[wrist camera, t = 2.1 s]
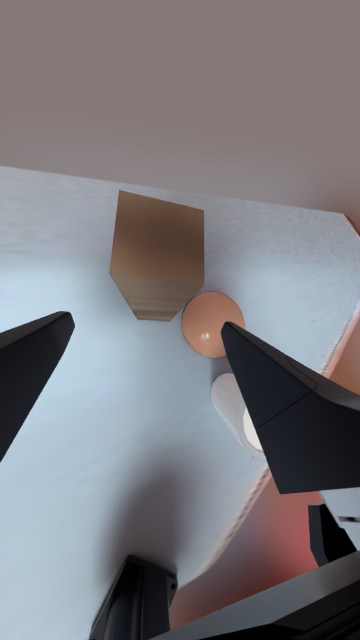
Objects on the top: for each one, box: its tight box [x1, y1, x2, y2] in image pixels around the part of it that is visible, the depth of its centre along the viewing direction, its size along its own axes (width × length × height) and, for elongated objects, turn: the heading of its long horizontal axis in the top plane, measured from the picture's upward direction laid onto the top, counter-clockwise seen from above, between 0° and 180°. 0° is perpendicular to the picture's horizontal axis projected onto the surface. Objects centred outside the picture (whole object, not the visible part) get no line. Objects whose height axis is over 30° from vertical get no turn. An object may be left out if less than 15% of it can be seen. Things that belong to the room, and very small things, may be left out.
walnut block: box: [109, 190, 204, 321], centre depth 13 cm, size 4×4×13 cm
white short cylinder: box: [211, 373, 266, 461], centre depth 16 cm, size 7×7×7 cm
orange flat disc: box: [182, 292, 245, 358], centre depth 20 cm, size 10×10×1 cm
